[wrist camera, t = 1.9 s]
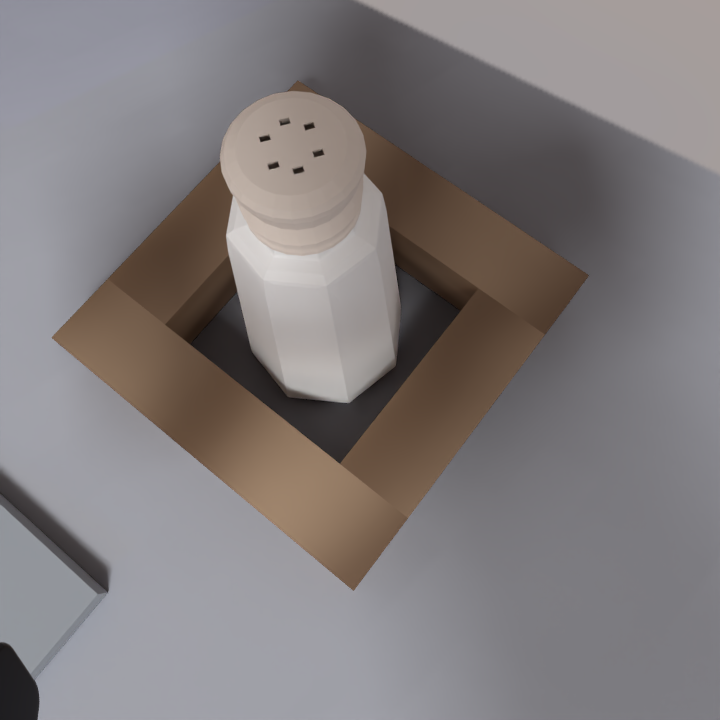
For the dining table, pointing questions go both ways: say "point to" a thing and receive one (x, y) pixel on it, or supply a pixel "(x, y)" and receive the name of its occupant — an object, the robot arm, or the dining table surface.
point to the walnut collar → (401, 414)
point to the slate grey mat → (39, 591)
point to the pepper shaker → (310, 247)
